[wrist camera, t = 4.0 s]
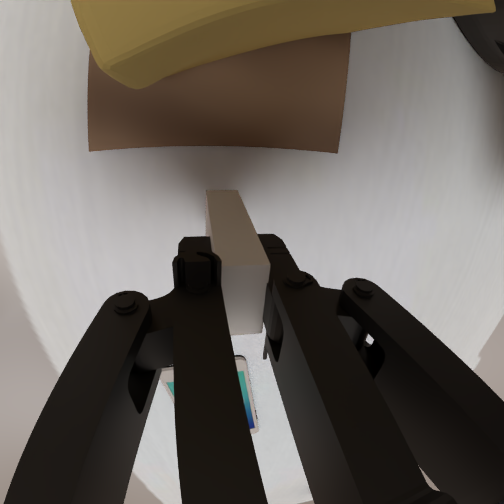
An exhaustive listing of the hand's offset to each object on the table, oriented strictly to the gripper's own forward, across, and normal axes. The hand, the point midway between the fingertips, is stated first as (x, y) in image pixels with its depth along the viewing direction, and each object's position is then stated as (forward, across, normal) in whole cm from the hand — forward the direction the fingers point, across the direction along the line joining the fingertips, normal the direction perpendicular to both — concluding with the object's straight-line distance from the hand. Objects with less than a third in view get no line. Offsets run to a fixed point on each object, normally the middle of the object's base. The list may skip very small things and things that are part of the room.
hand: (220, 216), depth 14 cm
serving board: (+2, 0, +11) cm, 11 cm away
